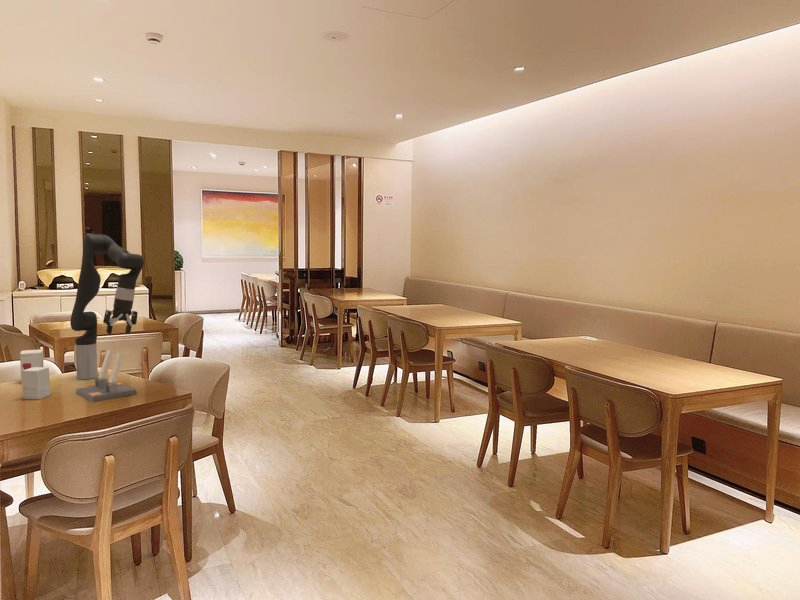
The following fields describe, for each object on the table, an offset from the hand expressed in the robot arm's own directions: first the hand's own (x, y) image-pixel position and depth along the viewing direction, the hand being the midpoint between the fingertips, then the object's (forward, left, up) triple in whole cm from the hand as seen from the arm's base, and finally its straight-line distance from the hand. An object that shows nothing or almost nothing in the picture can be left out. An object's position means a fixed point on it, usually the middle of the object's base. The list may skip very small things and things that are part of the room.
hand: (118, 333), depth 243 cm
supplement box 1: (-54, -20, -28) cm, 64 cm away
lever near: (+1, -5, -23) cm, 24 cm away
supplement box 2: (-20, -27, -28) cm, 44 cm away
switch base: (-5, -4, -27) cm, 28 cm away
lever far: (-11, -5, -23) cm, 26 cm away
